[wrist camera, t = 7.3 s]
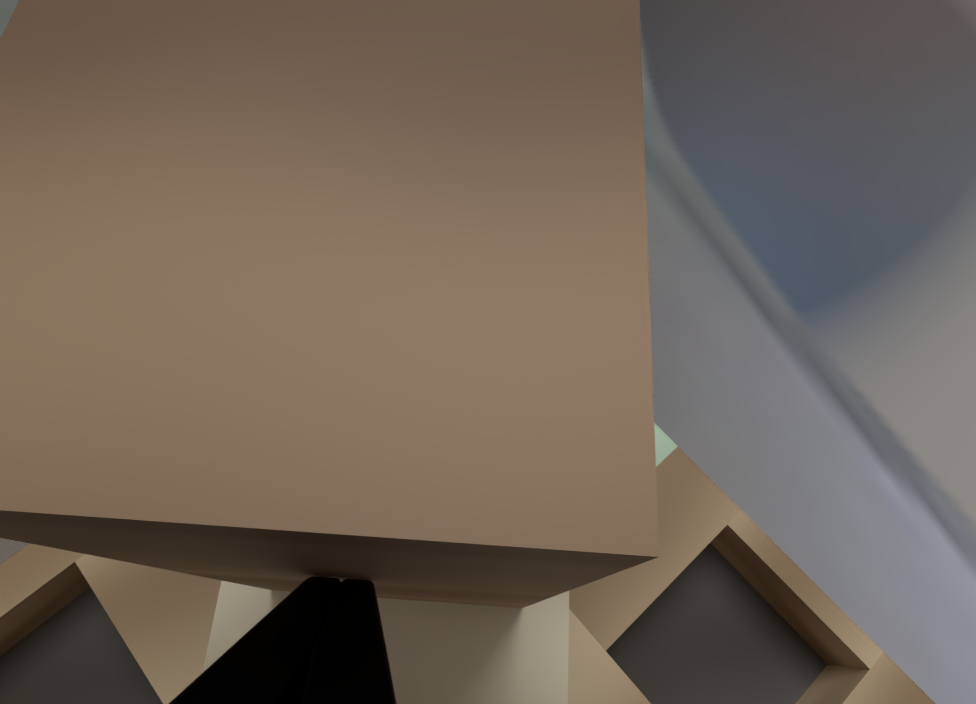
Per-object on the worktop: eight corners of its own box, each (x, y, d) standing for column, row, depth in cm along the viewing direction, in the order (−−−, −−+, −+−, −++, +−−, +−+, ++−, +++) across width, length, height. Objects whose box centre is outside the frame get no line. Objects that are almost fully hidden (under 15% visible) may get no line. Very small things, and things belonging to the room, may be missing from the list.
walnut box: (523, 607, 14) (659, 557, 4) (270, 590, 14) (-221, 494, 4) (533, 353, 17) (635, -79, 6) (316, 338, 17) (77, -119, 6)
